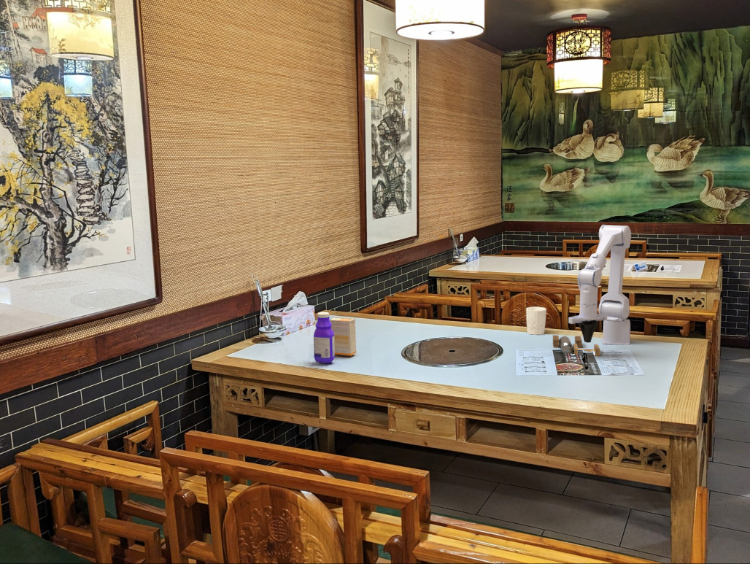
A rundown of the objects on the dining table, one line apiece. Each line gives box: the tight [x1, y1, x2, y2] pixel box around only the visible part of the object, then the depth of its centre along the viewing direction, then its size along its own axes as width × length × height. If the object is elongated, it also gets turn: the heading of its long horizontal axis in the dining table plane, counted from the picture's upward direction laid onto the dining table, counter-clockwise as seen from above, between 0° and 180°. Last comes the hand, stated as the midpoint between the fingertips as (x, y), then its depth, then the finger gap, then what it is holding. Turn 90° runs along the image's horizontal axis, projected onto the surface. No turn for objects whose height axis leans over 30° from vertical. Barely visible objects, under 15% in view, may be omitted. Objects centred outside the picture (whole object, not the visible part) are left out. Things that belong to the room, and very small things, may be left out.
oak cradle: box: [572, 343, 601, 357], centre depth 238 cm, size 9×9×3 cm
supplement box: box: [330, 316, 357, 357], centre depth 245 cm, size 8×5×13 cm, turn 65°
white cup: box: [525, 306, 547, 336], centre depth 270 cm, size 8×8×10 cm
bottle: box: [313, 311, 336, 364], centre depth 235 cm, size 7×6×17 cm
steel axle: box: [559, 335, 574, 354], centre depth 243 cm, size 12×4×4 cm, turn 170°
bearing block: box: [552, 334, 583, 349], centre depth 249 cm, size 10×7×3 cm
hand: (587, 341), depth 234 cm, fingers closed
